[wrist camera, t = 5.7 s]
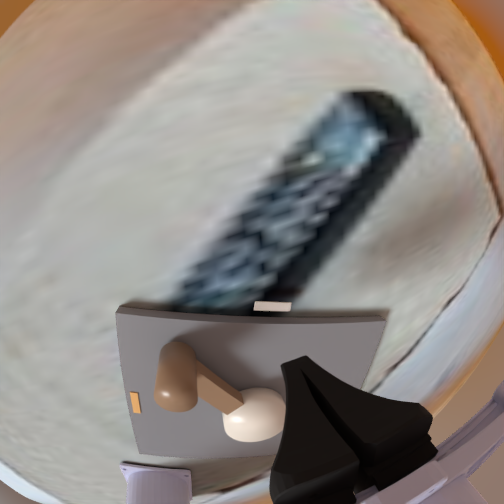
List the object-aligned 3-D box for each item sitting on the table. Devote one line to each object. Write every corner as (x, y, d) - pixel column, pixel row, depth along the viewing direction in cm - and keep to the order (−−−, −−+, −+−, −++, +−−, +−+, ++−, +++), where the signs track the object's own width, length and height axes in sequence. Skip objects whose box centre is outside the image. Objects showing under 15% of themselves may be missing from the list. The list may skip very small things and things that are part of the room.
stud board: (328, 438, 24) (332, 445, 23) (140, 446, 20) (139, 454, 19) (385, 298, 20) (392, 303, 19) (118, 283, 16) (113, 290, 15)
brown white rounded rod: (294, 405, 20) (312, 442, 16) (249, 434, 20) (259, 471, 16) (191, 320, 16) (191, 361, 12) (140, 362, 16) (131, 405, 12)
